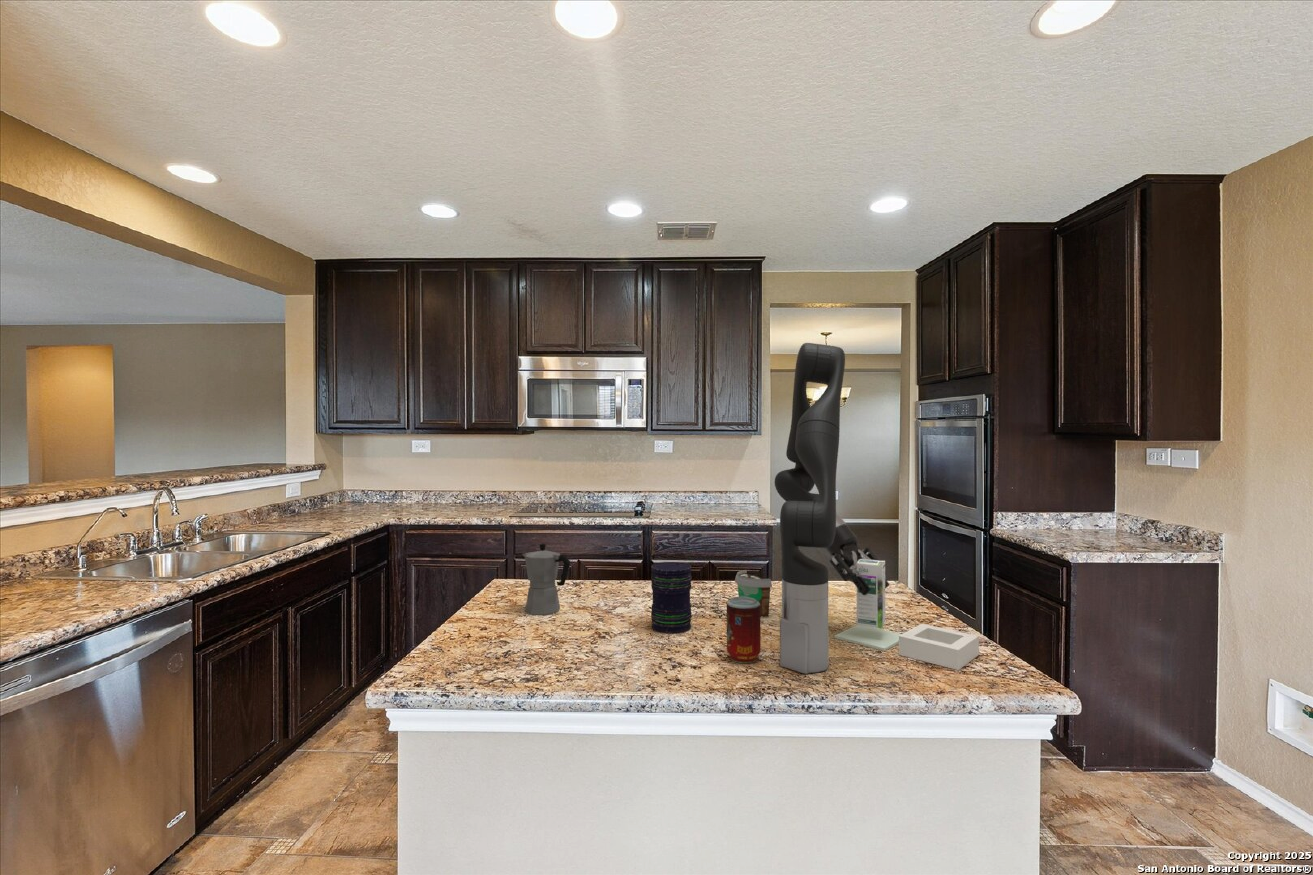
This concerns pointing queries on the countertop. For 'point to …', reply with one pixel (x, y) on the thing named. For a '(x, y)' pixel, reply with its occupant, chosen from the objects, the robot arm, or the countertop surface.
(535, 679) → the countertop surface
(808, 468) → the robot arm
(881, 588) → the syrup box
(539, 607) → the coffeepot
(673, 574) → the storage jar
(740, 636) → the soda can
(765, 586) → the food container
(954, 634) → the socket collar
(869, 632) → the green mat
